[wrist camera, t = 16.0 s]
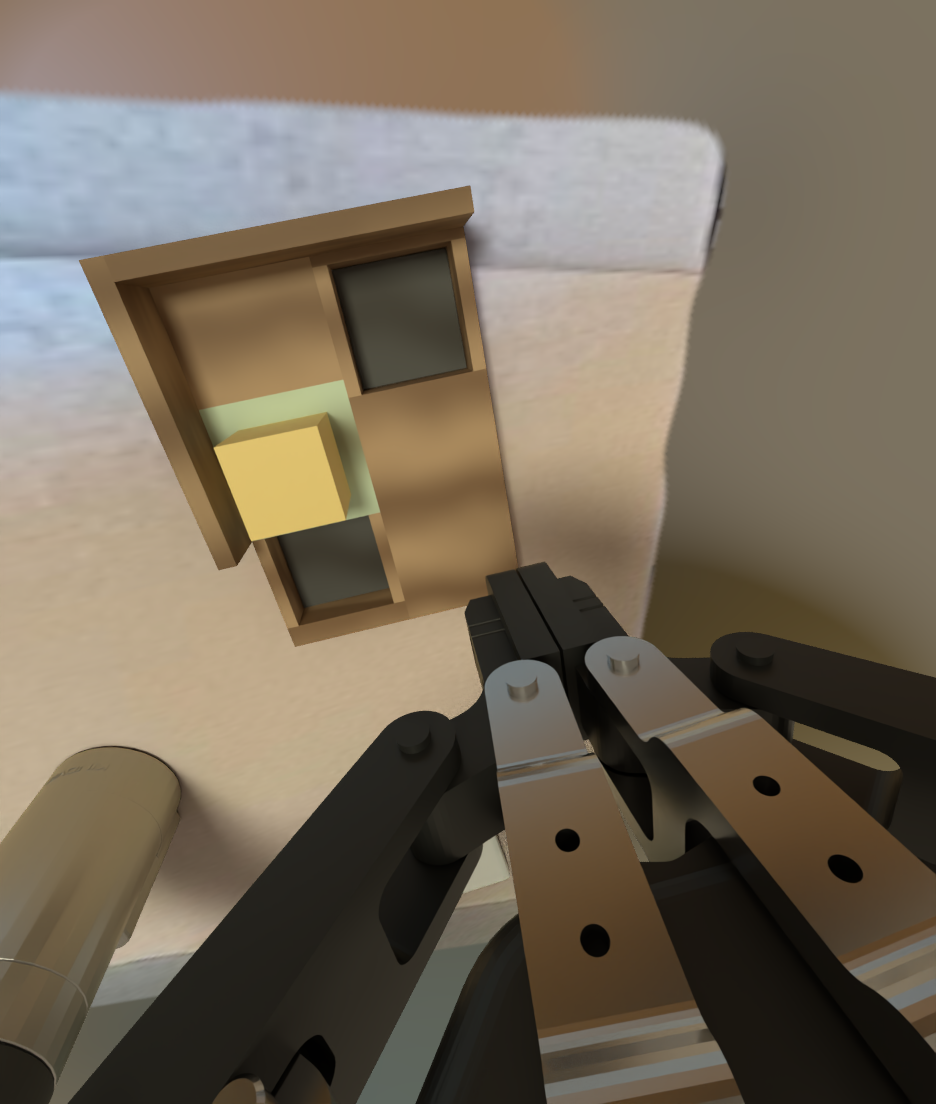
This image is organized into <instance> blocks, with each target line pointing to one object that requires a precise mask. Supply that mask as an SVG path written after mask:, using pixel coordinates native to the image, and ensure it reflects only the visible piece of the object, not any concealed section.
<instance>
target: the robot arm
mask: <svg viewBox="0 0 936 1104" xmlns="http://www.w3.org/2000/svg"><path fill="white" fill-rule="evenodd" d="M485 579H486V585H487V591H488V596H484V597H480V598H476V599H471V600H470V601H469V603H468V606H467V608H466V610H465V618H466V622H467V627H468V631H469V636H470V641H471V645H472V650H473V654H474V659H475V663H476V667H477V671H478V674H479V678H480V682H481V685H482V689H483V691H482V694H481V696H480V697H479V699H478V700H477V702H476V703H475V704H474V705H473V706H472V707H471V708H469V709H468V710H467V711H465V712H464V713H462V714H460V715H458V716H457V717H455V718H453V719H451V720H449V719H448V718H447V717H446V716H444V715H443V714H440V713H437V712H433V711H417V712H413V713H409V714H406V715H404V716H402V717H400V718H398V719H396V720H394V721H393V722H392V723H390V724H389V725H388V726H387V727H386V728H385V729H384V730H383V731H382V732H381V733H380V735H379V736H378V737H377V738H376V739H375V740H374V742H373V743H372V744H371V745H370V746H369V748H368V749H367V750H366V751H365V752H364V753H363V755H362V756H361V757H360V758H359V759H358V761H357V762H356V763H355V764H354V765H353V767H352V768H351V769H350V770H349V771H348V772H347V774H346V775H345V776H344V777H343V778H342V780H341V781H340V782H339V783H338V784H337V785H336V787H335V788H334V789H333V790H332V791H331V793H330V794H329V795H328V796H327V797H326V798H325V800H324V801H323V802H322V803H321V804H320V806H319V807H318V808H317V809H316V810H315V811H314V813H313V814H312V815H311V816H310V817H309V819H308V820H307V821H306V822H305V823H304V824H303V826H302V827H301V828H300V829H299V830H298V832H297V833H296V834H295V835H294V836H293V838H292V839H291V840H290V841H289V842H288V843H287V845H286V846H285V847H284V848H283V849H282V851H281V852H280V853H279V854H278V855H277V856H276V858H275V859H274V860H273V861H272V862H271V864H270V865H269V866H268V867H267V868H266V869H265V871H264V872H263V873H262V874H261V875H260V877H259V878H258V879H257V880H256V881H255V882H254V884H253V885H252V886H251V887H250V888H249V890H248V891H247V892H246V893H245V894H244V895H243V897H242V898H241V899H240V900H239V901H238V903H237V904H236V905H235V906H234V907H233V909H232V910H231V911H230V912H229V913H228V914H227V916H226V917H225V918H224V919H223V920H222V922H221V923H220V924H219V925H218V926H217V927H216V929H215V930H214V931H213V932H212V933H211V935H210V936H209V937H208V938H207V939H206V940H205V942H204V943H203V944H202V945H201V946H200V948H199V949H198V950H197V951H196V952H195V953H194V955H193V956H192V957H191V958H190V959H189V961H188V962H187V963H186V964H185V965H184V966H183V968H182V969H181V970H180V971H179V972H178V974H177V975H176V976H175V977H174V978H173V980H172V981H171V982H170V983H169V984H168V985H167V987H166V988H165V989H164V990H163V991H162V993H161V994H160V995H159V996H158V997H157V998H156V1000H155V1001H154V1002H153V1003H152V1005H151V1006H150V1007H149V1008H148V1009H147V1010H146V1011H145V1013H144V1014H143V1015H142V1016H141V1017H140V1019H139V1020H138V1021H137V1022H136V1023H135V1025H134V1026H133V1027H132V1028H131V1029H130V1030H129V1032H128V1033H127V1034H126V1035H125V1036H124V1038H123V1039H122V1040H121V1041H120V1043H118V1045H117V1046H116V1047H115V1048H114V1049H113V1051H112V1052H111V1053H110V1054H109V1055H108V1056H107V1058H106V1059H105V1060H104V1061H103V1062H102V1064H101V1065H100V1066H99V1067H98V1068H97V1070H96V1071H95V1072H94V1073H93V1074H92V1075H91V1077H90V1078H89V1079H88V1080H87V1081H86V1082H85V1084H84V1085H83V1086H82V1088H80V1090H79V1091H78V1092H77V1093H76V1094H75V1095H74V1097H73V1098H72V1099H71V1100H70V1101H69V1103H68V1104H356V1102H357V1100H358V1098H359V1096H360V1094H361V1092H362V1090H363V1088H364V1086H365V1084H366V1083H367V1081H368V1078H369V1077H370V1075H371V1073H372V1071H373V1069H374V1067H375V1065H376V1063H377V1061H378V1059H379V1057H380V1055H381V1053H382V1051H383V1049H384V1047H385V1045H386V1043H387V1041H388V1039H389V1037H390V1035H391V1033H392V1031H393V1029H394V1027H395V1025H396V1023H397V1021H398V1019H399V1017H400V1016H401V1013H402V1012H403V1010H404V1008H405V1006H406V1004H407V1002H408V1000H409V998H410V996H411V994H412V992H413V990H414V988H415V986H416V984H417V982H418V980H419V978H420V976H421V974H422V972H423V970H424V968H425V966H426V964H427V962H428V960H429V958H430V956H431V954H432V952H433V950H434V949H435V947H436V945H437V943H438V941H439V939H440V937H441V935H442V933H443V931H444V929H445V927H446V925H447V923H448V921H449V919H450V917H451V915H452V913H453V911H454V909H455V907H456V905H457V903H458V901H459V899H460V897H461V895H462V893H463V891H464V889H465V887H466V885H467V884H468V882H469V880H470V878H471V876H472V874H473V872H474V870H475V868H476V866H477V864H478V862H479V860H480V857H481V855H482V850H483V843H485V842H486V841H488V840H489V839H491V838H492V837H494V836H496V835H497V834H499V833H500V832H502V831H503V830H505V831H506V837H507V844H508V850H509V856H510V862H511V869H512V875H513V881H514V888H515V894H516V900H517V907H518V914H517V915H515V916H514V917H513V918H512V919H511V920H510V921H508V922H507V923H506V924H505V925H504V926H503V927H502V928H501V929H500V930H499V931H498V932H497V933H496V934H495V935H494V936H493V938H492V939H491V940H490V941H489V943H488V944H487V945H486V947H485V948H484V950H483V951H482V952H481V954H480V955H479V957H478V959H477V961H476V962H475V964H474V966H473V968H472V969H471V971H470V973H469V975H468V977H467V980H466V982H465V984H464V986H463V988H462V991H461V993H460V996H459V998H458V1001H457V1003H456V1006H455V1009H454V1011H453V1013H452V1015H451V1018H450V1020H449V1023H448V1025H447V1028H446V1030H445V1033H444V1036H443V1038H442V1040H441V1043H440V1045H439V1047H438V1050H437V1052H436V1055H435V1057H434V1060H433V1062H432V1065H431V1067H430V1069H429V1072H428V1074H427V1077H426V1079H425V1082H424V1084H423V1087H422V1089H421V1092H420V1094H419V1096H418V1099H417V1101H416V1104H936V678H934V677H931V676H926V675H923V674H919V673H915V672H911V671H907V670H903V669H899V668H895V667H891V666H887V665H883V664H879V663H875V662H872V661H868V660H864V659H860V658H856V657H852V656H848V655H844V654H840V653H836V652H832V651H828V650H825V649H820V648H817V647H813V646H809V645H805V644H801V643H797V642H793V641H789V640H785V639H781V638H777V637H773V636H770V635H765V634H761V633H753V632H738V633H732V634H728V635H725V636H723V637H720V638H719V639H717V640H716V641H715V642H714V643H713V645H712V647H711V651H710V658H669V657H666V656H665V655H664V654H663V653H662V652H661V651H659V650H658V649H657V648H656V647H655V646H654V645H653V644H651V643H649V642H647V641H645V640H643V639H639V638H635V637H629V636H628V635H627V633H626V632H625V631H624V630H623V628H622V627H621V626H620V625H619V623H618V622H617V621H616V620H615V618H614V617H613V616H612V615H611V613H610V612H609V611H608V610H607V608H606V607H605V606H603V603H602V602H601V601H600V600H599V598H598V597H596V595H595V594H594V592H593V591H592V590H591V589H590V587H589V586H588V585H587V584H586V583H584V582H582V581H580V580H578V579H576V578H574V577H572V576H567V577H563V578H559V579H557V578H556V576H555V575H554V573H553V572H552V571H551V569H550V568H549V566H548V565H547V564H546V562H541V563H537V564H533V565H528V566H524V567H520V568H516V571H515V569H512V570H508V571H503V572H499V573H495V574H491V575H486V576H485ZM794 722H798V723H800V724H804V725H807V726H809V727H812V728H815V729H818V730H821V731H824V732H826V733H829V734H832V735H835V736H838V737H841V738H844V739H847V740H849V741H852V742H856V743H858V744H861V745H864V746H867V747H870V748H873V749H875V750H878V751H880V752H882V753H884V754H886V755H888V756H889V757H891V758H892V759H893V760H894V761H895V762H896V763H897V764H898V765H899V767H900V769H898V770H895V771H881V770H877V769H874V768H871V767H868V766H865V765H863V764H860V763H857V762H855V761H852V760H849V759H846V758H844V757H841V756H838V755H835V754H833V753H830V752H827V751H825V750H822V749H819V748H816V747H814V746H811V745H808V744H806V743H803V742H800V741H797V740H795V739H793V730H794ZM587 739H589V740H590V742H591V744H592V746H593V748H594V753H588V751H587V749H586V746H585V744H584V741H583V740H587ZM180 799H181V789H180V785H179V782H178V780H177V778H176V777H175V775H174V773H173V772H172V771H171V770H170V769H169V768H168V767H167V766H166V765H165V764H163V763H162V762H160V761H159V760H157V759H156V758H153V757H151V756H149V755H147V754H145V753H142V752H138V751H135V750H131V749H124V748H117V747H110V748H96V749H90V750H86V751H83V752H80V753H77V754H75V755H73V756H72V757H70V758H68V759H66V760H65V761H64V762H63V763H62V764H61V765H60V766H58V767H57V769H56V770H55V771H54V773H53V774H52V775H51V777H50V778H49V779H48V781H47V782H46V783H45V785H44V786H43V787H42V789H41V790H40V792H39V793H38V794H37V796H36V797H35V798H34V800H33V801H32V802H31V804H30V805H29V806H28V808H27V809H26V810H25V811H24V813H23V814H22V815H21V817H20V818H19V819H18V821H17V822H16V823H15V825H14V826H13V827H12V829H11V830H10V831H9V833H8V834H7V835H6V837H5V838H4V839H3V841H2V842H1V843H0V1104H49V1102H50V1099H51V1097H52V1095H53V1091H54V1089H55V1087H56V1085H57V1083H58V1080H59V1078H60V1076H61V1074H62V1071H63V1069H64V1067H65V1064H66V1062H67V1060H68V1058H69V1055H70V1053H71V1050H72V1048H73V1046H74V1044H75V1041H76V1039H77V1037H78V1034H79V1032H80V1030H81V1028H82V1025H83V1023H84V1021H85V1018H86V1016H87V1013H88V1011H89V1009H90V1006H91V1004H92V1002H93V1000H94V997H95V995H96V993H97V990H98V988H99V986H100V984H101V981H102V979H103V977H104V974H105V972H106V970H107V967H108V965H109V963H110V961H111V958H112V956H113V954H114V951H115V949H117V948H120V947H122V946H124V945H125V944H126V943H127V942H128V941H129V939H130V938H131V936H132V933H133V931H134V929H135V926H136V924H137V921H138V919H139V917H140V914H141V912H142V910H143V907H144V905H145V902H146V900H147V898H148V895H149V893H150V890H151V888H152V886H153V883H154V881H155V879H156V876H157V874H158V871H159V869H160V867H161V864H162V862H163V859H164V857H165V855H166V852H167V850H168V847H169V845H170V843H171V840H172V838H173V836H174V833H175V831H176V828H177V826H178V824H179V821H180V817H179V815H178V813H177V807H178V804H179V802H180ZM618 808H619V809H618ZM619 810H620V811H619ZM620 812H621V813H622V815H623V817H624V819H625V820H626V822H627V824H628V825H629V827H630V829H631V830H632V832H633V834H634V835H635V837H636V839H637V841H638V842H639V844H640V846H641V847H642V849H643V851H644V852H645V855H646V856H647V858H648V861H649V862H640V861H639V859H638V856H637V854H636V851H635V849H634V846H633V844H632V841H631V839H630V836H629V834H628V831H627V829H626V826H625V824H624V821H623V819H622V816H621V814H620Z"/></svg>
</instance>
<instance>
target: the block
mask: <svg viewBox="0 0 936 1104" xmlns="http://www.w3.org/2000/svg"><path fill="white" fill-rule="evenodd" d="M214 450H215V453H216V455H217V458H218V460H219V463H220V465H221V468H222V470H223V473H224V475H225V478H226V480H227V483H228V485H229V488H230V490H231V492H232V495H233V497H234V500H235V502H236V505H237V507H238V510H239V512H240V515H241V517H242V520H243V522H244V525H245V527H246V530H247V532H248V535H249V537H250V540H251V541H255V540H259V539H264V538H268V537H273V536H277V535H282V534H286V533H291V532H295V531H300V530H304V529H309V528H313V527H318V526H322V525H327V524H331V523H336V522H340V521H345V520H346V517H347V513H348V508H349V503H350V498H351V492H350V489H349V485H348V482H347V479H346V475H345V472H344V468H343V465H342V462H341V458H340V455H339V451H338V448H337V445H336V441H335V438H334V435H333V431H332V428H331V424H330V421H329V418H328V414H327V412H324V413H319V414H314V415H309V416H305V417H300V418H295V419H290V420H285V421H281V422H276V423H271V424H266V425H262V426H257V427H252V428H247V429H242V430H238V431H237V432H235V433H234V434H232V435H231V436H229V437H228V438H227V439H225V440H224V441H222V442H221V443H219V444H218V445H216V446H215V447H214Z"/></svg>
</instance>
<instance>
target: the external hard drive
mask: <svg viewBox="0 0 936 1104" xmlns="http://www.w3.org/2000/svg"><path fill="white" fill-rule="evenodd" d="M509 877H510V873H509V868H508V865H507V862H506V859H505V856H504V854H503V851H502V848H501V845H500V843H499V840H498V837H497V835H496V836H494V837H492V838H491V839H489V840H488V841H486V842H485V843H483V850H482V855H481V857H480V860H479V862H478V864H477V866H476V868H475V870H474V872H473V874H472V876H471V878H470V880H469V882H468V884H467V885H466V887H465V889H464V891H463V893H466V892H469V891H473V890H475V889H479V888H482V887H485V886H488V885H491V884H495V883H498V882H501V881H504V880H506V879H508V878H509ZM463 893H462V894H463Z"/></svg>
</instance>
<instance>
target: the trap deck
mask: <svg viewBox="0 0 936 1104" xmlns="http://www.w3.org/2000/svg"><path fill="white" fill-rule="evenodd" d="M473 213H474V207H473V200H472V194H471V187H470V186H465V187H460V188H455V189H449V190H444V191H439V192H434V193H428V194H423V195H418V196H413V197H408V198H402V199H397V200H392V201H387V202H381V203H376V204H371V205H366V206H360V207H355V208H350V209H345V210H340V211H334V212H329V213H324V214H319V215H313V216H308V217H303V218H298V219H292V220H287V221H282V222H277V223H272V224H266V225H261V226H256V227H251V228H245V229H240V230H235V231H230V232H224V233H219V234H214V235H209V236H204V237H198V238H193V239H188V240H183V241H177V242H172V243H167V244H162V245H156V246H151V247H146V248H141V249H136V250H130V251H125V252H120V253H115V254H109V255H104V256H99V257H94V258H88V259H83V260H79V262H80V264H81V266H82V268H83V271H84V273H85V275H86V277H87V280H88V282H89V284H90V286H91V288H92V291H93V293H94V295H95V297H96V300H97V302H98V304H99V306H100V308H101V311H102V313H103V315H104V317H105V319H106V322H107V324H108V326H109V328H110V331H111V333H112V335H113V337H114V339H115V342H116V344H117V346H118V348H119V350H120V353H121V355H122V357H123V359H124V362H125V364H126V366H127V368H128V370H129V373H130V375H131V377H132V379H133V381H134V384H135V386H136V388H137V390H138V393H139V395H140V397H141V399H142V401H143V404H144V406H145V408H146V410H147V412H148V415H149V417H150V419H151V421H152V424H153V426H154V428H155V430H156V432H157V435H158V437H159V439H160V441H161V444H162V446H163V448H164V450H165V452H166V455H167V457H168V459H169V461H170V463H171V466H172V468H173V470H174V472H175V475H176V477H177V479H178V481H179V483H180V486H181V488H182V490H183V492H184V494H185V497H186V499H187V501H188V503H189V506H190V508H191V510H192V512H193V514H194V517H195V519H196V521H197V523H198V525H199V528H200V530H201V532H202V534H203V537H204V539H205V541H206V543H207V545H208V548H209V550H210V552H211V554H212V556H213V559H214V561H215V563H216V565H217V568H218V570H221V569H226V568H230V567H234V566H237V565H238V563H239V562H240V560H241V558H242V557H243V555H244V554H245V552H246V551H247V549H248V547H249V546H250V544H251V543H252V542H253V545H254V547H255V550H256V552H257V555H258V557H259V560H260V562H261V564H262V567H263V569H264V572H265V574H266V577H267V579H268V582H269V584H270V587H271V589H272V591H273V594H274V596H275V599H276V601H277V604H278V606H279V609H280V611H281V614H282V616H283V618H284V621H285V623H286V626H287V628H288V631H289V633H290V636H291V638H292V641H293V643H294V645H295V647H296V646H301V645H305V644H309V643H313V642H317V641H321V640H325V639H330V638H334V637H338V636H342V635H346V634H350V633H355V632H359V631H363V630H367V629H371V628H375V627H379V626H384V625H388V624H392V623H396V622H400V621H404V620H409V619H413V618H417V617H421V616H425V615H429V614H434V613H438V612H442V611H446V610H450V609H454V608H458V607H463V606H467V605H468V603H469V601H470V600H471V599H476V598H480V597H484V596H488V591H487V585H486V579H485V576H486V575H491V574H495V573H499V572H503V571H508V570H512V569H515V571H516V568H518V563H517V557H516V551H515V545H514V538H513V532H512V526H511V520H510V513H509V507H508V501H507V495H506V489H505V482H504V476H503V470H502V464H501V457H500V451H499V445H498V439H497V432H496V426H495V420H494V414H493V408H492V401H491V395H490V389H489V383H488V376H487V370H486V364H485V358H484V351H483V345H482V339H481V333H480V327H479V320H478V314H477V308H476V302H475V295H474V289H473V283H472V277H471V271H470V264H469V258H468V252H467V246H466V239H465V233H464V227H463V226H464V225H465V224H466V222H467V221H468V220H469V218H470V217H471V216H472V214H473ZM441 248H444V249H441ZM436 249H439V250H436ZM431 250H434V251H431ZM425 251H429V252H425ZM446 251H447V253H446ZM420 252H424V253H420ZM415 253H418V254H415ZM410 254H413V255H410ZM405 255H408V256H405ZM400 256H403V257H400ZM395 257H398V258H395ZM447 257H448V259H447ZM390 258H393V259H390ZM385 259H388V260H385ZM380 260H383V261H380ZM375 261H378V262H375ZM370 262H373V263H370ZM448 262H449V265H448ZM365 263H368V264H365ZM360 264H363V265H360ZM355 265H358V266H355ZM350 266H353V267H350ZM345 267H348V268H345ZM340 268H343V269H340ZM449 268H450V270H449ZM335 269H338V270H335ZM332 270H333V274H332ZM450 274H451V276H450ZM333 275H334V278H333ZM334 279H335V281H334ZM451 279H452V282H451ZM335 283H336V285H335ZM452 285H453V287H452ZM336 286H337V289H336ZM337 290H338V293H337ZM453 291H454V293H453ZM338 294H339V297H338ZM454 297H455V299H454ZM339 298H340V300H339ZM340 302H341V304H340ZM455 302H456V304H455ZM341 305H342V308H341ZM456 308H457V310H456ZM342 309H343V312H342ZM343 313H344V315H343ZM457 314H458V316H457ZM344 317H345V319H344ZM458 319H459V322H458ZM345 320H346V323H345ZM346 324H347V327H346ZM459 325H460V327H459ZM347 328H348V331H347ZM460 331H461V333H460ZM348 332H349V334H348ZM349 336H350V338H349ZM461 336H462V339H461ZM350 339H351V342H350ZM462 342H463V344H462ZM351 343H352V346H351ZM352 347H353V349H352ZM463 348H464V350H463ZM353 351H354V353H353ZM464 353H465V356H464ZM354 355H355V357H354ZM355 358H356V361H355ZM465 359H466V361H465ZM356 362H357V365H356ZM466 365H467V367H466ZM357 366H358V368H357ZM463 368H465V369H463ZM458 369H461V370H458ZM358 370H359V372H358ZM453 370H456V371H453ZM449 371H451V372H449ZM444 372H447V373H444ZM359 373H360V376H359ZM439 373H442V374H439ZM435 374H437V375H435ZM430 375H433V376H430ZM425 376H428V377H425ZM360 377H361V380H360ZM421 377H423V378H421ZM416 378H418V379H416ZM411 379H414V380H411ZM406 380H409V381H406ZM361 381H362V383H361ZM402 381H404V382H402ZM397 382H400V383H397ZM392 383H395V384H392ZM388 384H390V385H388ZM362 385H363V387H362ZM383 385H386V386H383ZM378 386H381V387H378ZM374 387H376V388H374ZM369 388H371V389H369ZM363 389H367V390H363ZM324 412H327V414H328V418H329V421H330V424H331V428H332V431H333V435H334V438H335V441H336V445H337V448H338V451H339V455H340V458H341V462H342V465H343V468H344V472H345V475H346V479H347V482H348V485H349V489H350V492H351V498H350V503H349V508H348V513H347V517H346V520H345V521H340V522H336V523H331V524H327V525H322V526H318V527H313V528H309V529H304V530H300V531H295V532H291V533H286V534H282V535H277V536H273V537H268V538H264V539H259V540H255V541H251V540H250V537H249V535H248V532H247V530H246V527H245V525H244V522H243V520H242V517H241V515H240V512H239V510H238V507H237V505H236V502H235V500H234V497H233V495H232V492H231V490H230V488H229V485H228V483H227V480H226V478H225V475H224V473H223V470H222V468H221V465H220V463H219V460H218V458H217V455H216V453H215V450H214V447H215V446H216V445H218V444H219V443H221V442H222V441H224V440H225V439H227V438H228V437H229V436H231V435H232V434H234V433H235V432H237V431H238V430H242V429H247V428H252V427H257V426H262V425H266V424H271V423H276V422H281V421H285V420H290V419H295V418H300V417H305V416H309V415H314V414H319V413H324Z"/></svg>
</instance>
